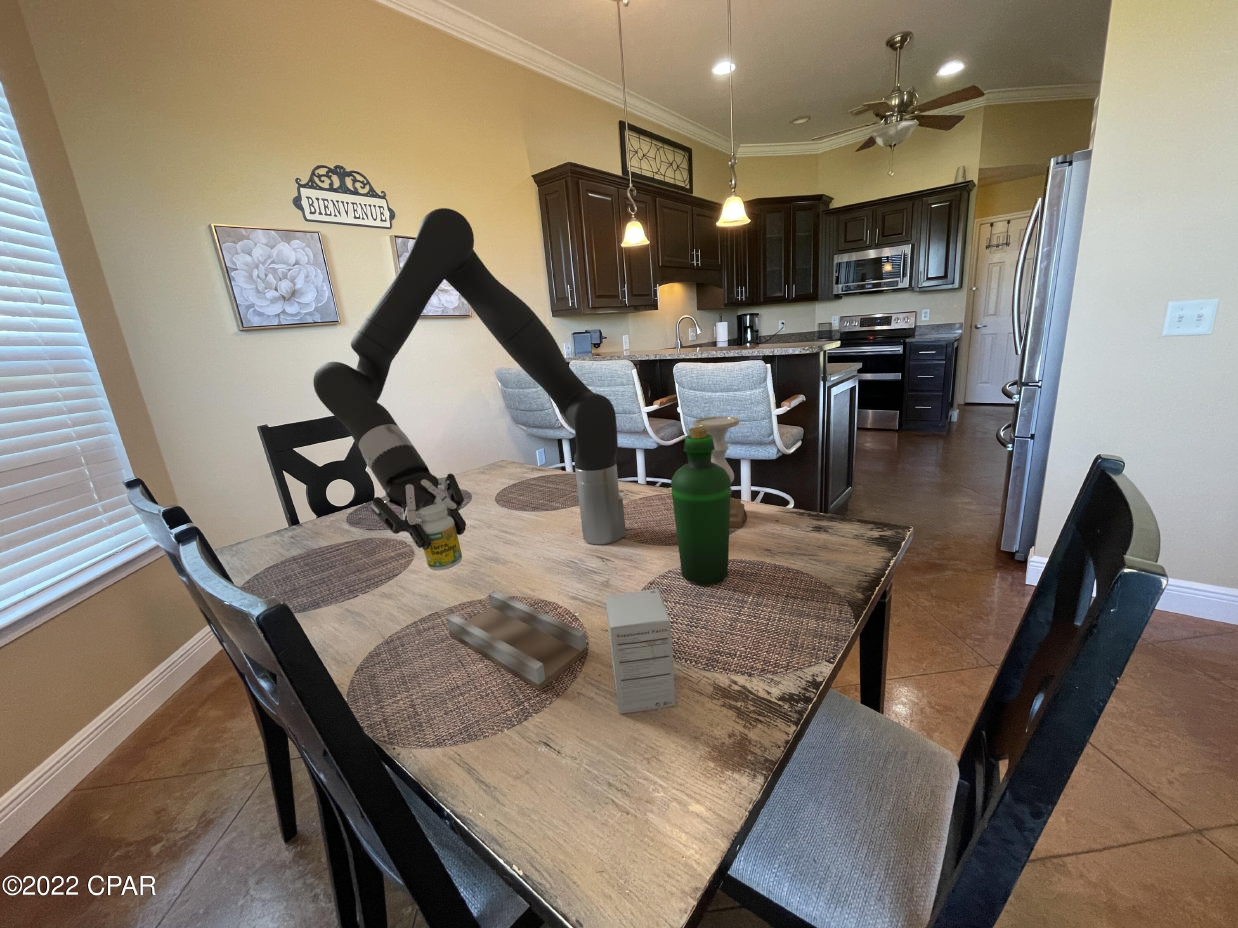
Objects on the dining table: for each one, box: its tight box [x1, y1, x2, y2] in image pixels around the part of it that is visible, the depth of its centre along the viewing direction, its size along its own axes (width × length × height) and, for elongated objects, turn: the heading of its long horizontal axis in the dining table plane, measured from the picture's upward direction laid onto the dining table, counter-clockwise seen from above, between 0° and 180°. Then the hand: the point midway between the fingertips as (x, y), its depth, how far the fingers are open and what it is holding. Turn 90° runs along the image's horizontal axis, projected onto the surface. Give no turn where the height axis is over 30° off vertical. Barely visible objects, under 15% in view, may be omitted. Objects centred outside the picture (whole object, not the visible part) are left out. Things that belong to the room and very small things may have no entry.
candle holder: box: [693, 416, 745, 529], centre depth 111 cm, size 11×11×24 cm
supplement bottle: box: [418, 504, 463, 572], centre depth 76 cm, size 5×5×10 cm
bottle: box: [670, 426, 732, 586], centre depth 85 cm, size 11×11×28 cm
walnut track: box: [446, 590, 588, 692], centre depth 74 cm, size 22×9×4 cm, turn 50°
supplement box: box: [605, 588, 677, 715], centre depth 61 cm, size 7×7×13 cm
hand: (445, 538), depth 74 cm, fingers closed on supplement bottle, 5 cm apart
